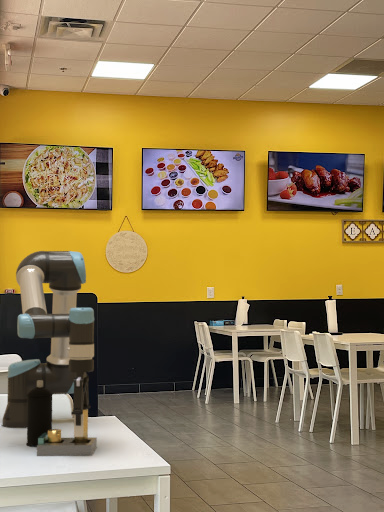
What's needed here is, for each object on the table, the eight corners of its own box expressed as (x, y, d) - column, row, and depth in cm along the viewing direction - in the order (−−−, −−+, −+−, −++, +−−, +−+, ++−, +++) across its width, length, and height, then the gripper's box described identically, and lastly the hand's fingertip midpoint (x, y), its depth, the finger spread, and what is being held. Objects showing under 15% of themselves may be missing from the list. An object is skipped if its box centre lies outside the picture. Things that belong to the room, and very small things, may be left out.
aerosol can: (46, 447, 228) (47, 382, 229) (21, 446, 229) (22, 381, 230) (56, 442, 236) (57, 379, 237) (32, 441, 237) (33, 379, 238)
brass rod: (75, 449, 223) (75, 409, 224) (88, 449, 223) (88, 409, 224) (73, 451, 219) (73, 411, 220) (86, 451, 219) (86, 411, 220)
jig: (44, 447, 227) (44, 427, 228) (96, 447, 227) (96, 426, 228) (36, 455, 215) (37, 434, 216) (91, 455, 215) (91, 433, 216)
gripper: (74, 355, 234) (74, 427, 233) (62, 361, 212) (62, 440, 211) (98, 355, 234) (97, 427, 233) (89, 361, 212) (88, 440, 211)
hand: (81, 433), depth 222 cm, fingers open, 9 cm apart
